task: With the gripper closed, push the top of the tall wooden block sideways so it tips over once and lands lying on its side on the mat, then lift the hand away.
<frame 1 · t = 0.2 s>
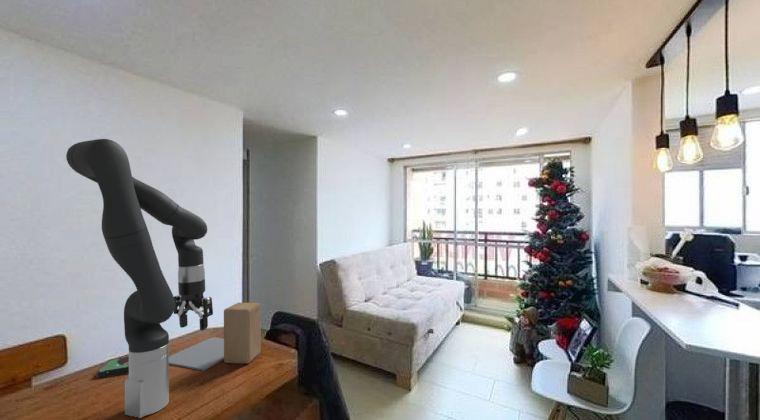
hand: (193, 328, 102), 18 cm above the table, tool pointing down, fingers open, 8 cm apart
disk drive: (128, 369, 113), on the table
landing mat: (208, 352, 125), on the table
wooden block: (243, 358, 119), on the table
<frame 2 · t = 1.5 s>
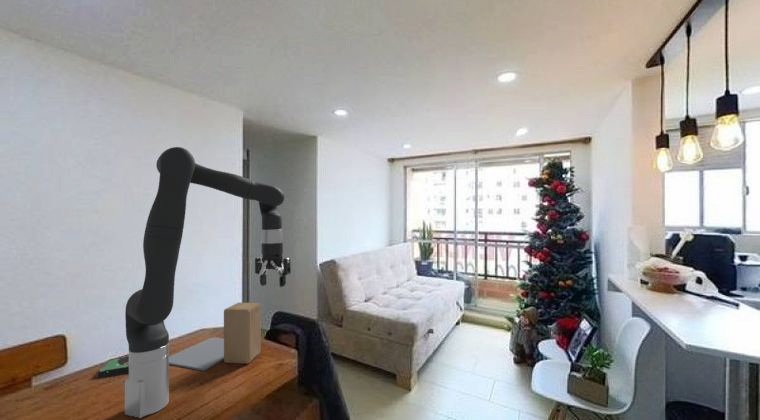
hand: (272, 285, 115), 28 cm above the table, tool pointing down, fingers open, 7 cm apart
nothing on the table moved.
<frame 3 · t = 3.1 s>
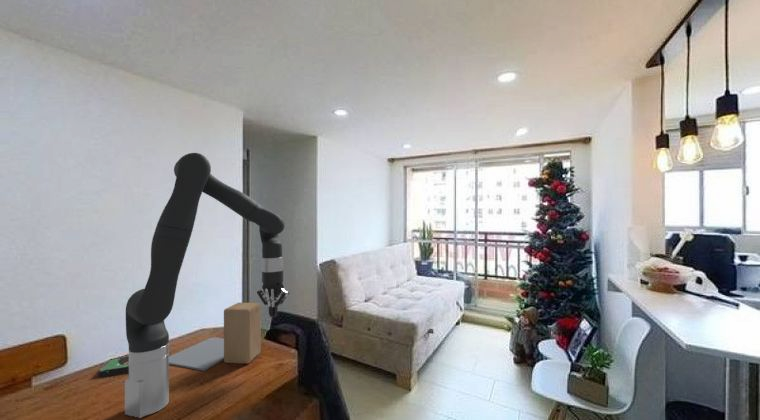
hand: (273, 316, 115), 17 cm above the table, tool pointing down, fingers closed
nothing on the table moved.
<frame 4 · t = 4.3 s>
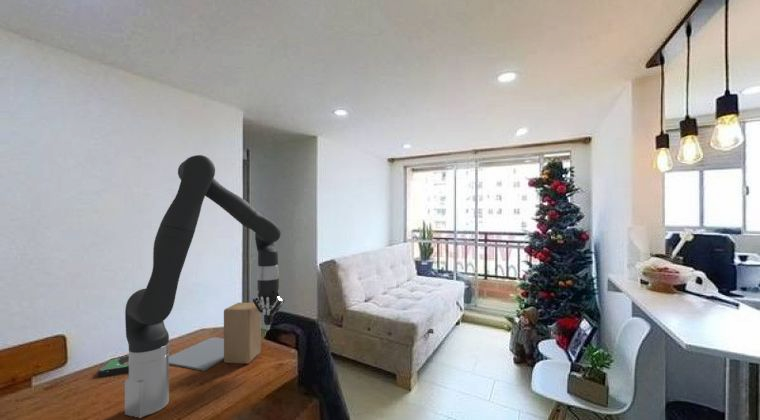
hand: (268, 324, 116), 14 cm above the table, tool pointing down, fingers closed
nothing on the table moved.
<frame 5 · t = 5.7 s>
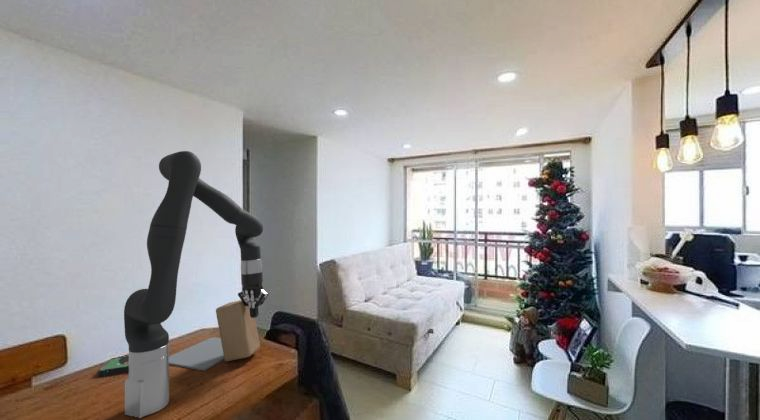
hand: (254, 317, 118), 16 cm above the table, tool pointing down, fingers closed
wooden block: (243, 355, 119), point 1 cm above the table, touching hand, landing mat
everything else where it was.
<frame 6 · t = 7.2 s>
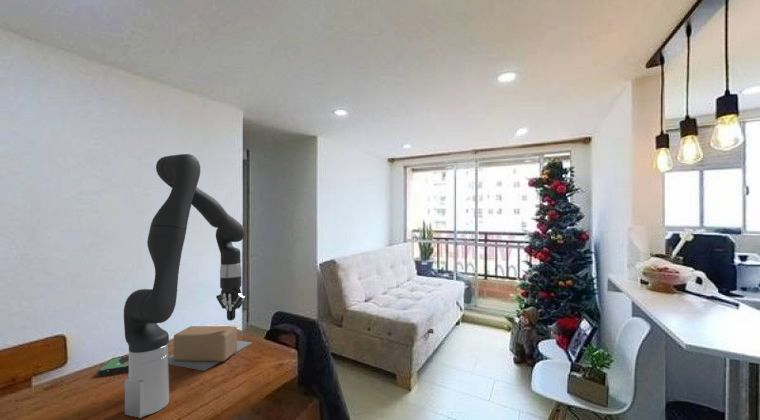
hand: (231, 319, 121), 14 cm above the table, tool pointing down, fingers closed
wooden block: (232, 343, 119), point 6 cm above the table, touching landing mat
everything else where it was.
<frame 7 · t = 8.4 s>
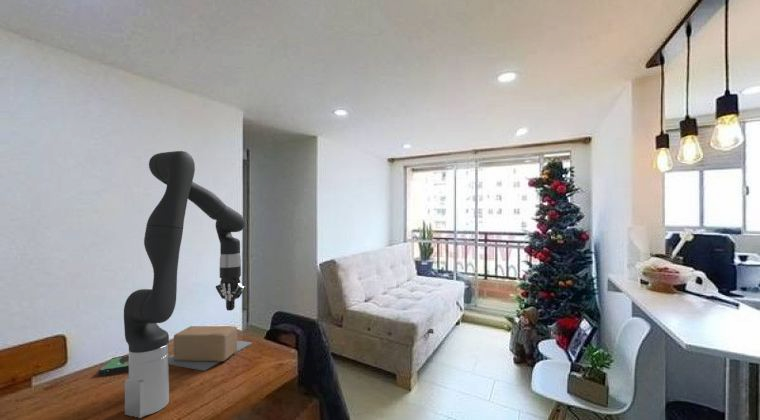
hand: (230, 309, 121), 18 cm above the table, tool pointing down, fingers closed
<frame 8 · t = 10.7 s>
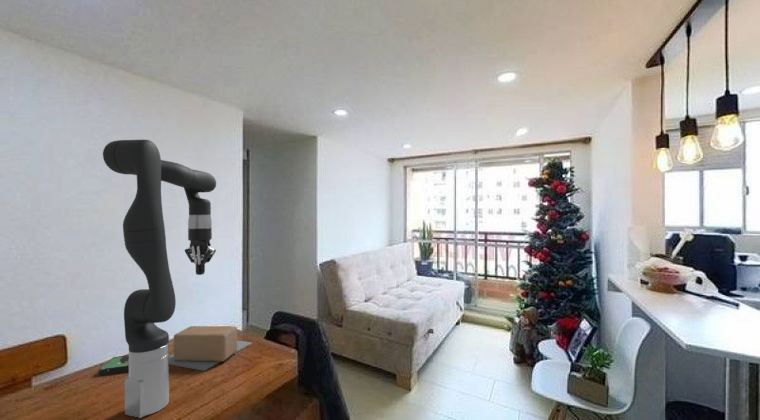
hand: (200, 274, 115), 33 cm above the table, tool pointing down, fingers closed
at the end: wooden block tilted 90°; wooden block touching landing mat; wooden block inside the target area (4.0 cm from its centre), point 5.6 cm above the table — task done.
